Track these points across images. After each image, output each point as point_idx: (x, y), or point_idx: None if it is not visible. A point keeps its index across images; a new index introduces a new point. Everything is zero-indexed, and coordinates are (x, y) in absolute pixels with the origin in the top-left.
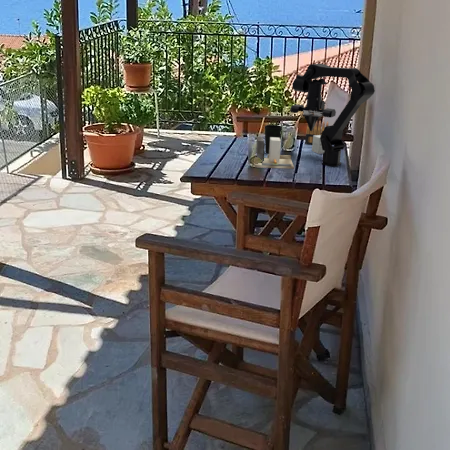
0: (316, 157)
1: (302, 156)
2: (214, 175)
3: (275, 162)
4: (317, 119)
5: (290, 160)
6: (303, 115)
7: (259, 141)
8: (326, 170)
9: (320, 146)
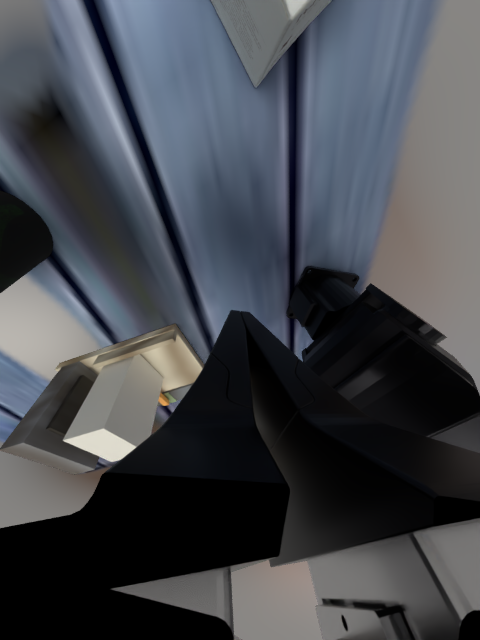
0: (256, 208)
1: (186, 222)
2: (102, 459)
3: (166, 404)
4: (350, 415)
5: (183, 346)
6: (121, 575)
7: (81, 470)
8: (299, 358)
9: (280, 53)
